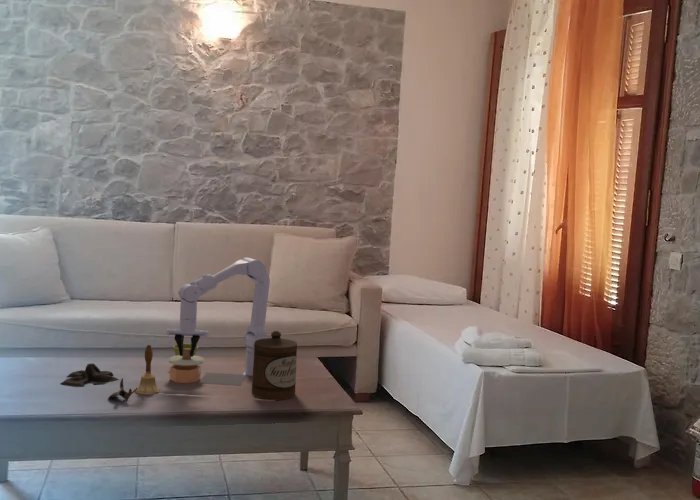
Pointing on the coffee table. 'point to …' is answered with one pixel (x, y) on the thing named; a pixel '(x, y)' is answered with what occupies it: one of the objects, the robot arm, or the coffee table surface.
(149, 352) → the hand bell
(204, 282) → the robot arm
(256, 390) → the wooden container
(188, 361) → the lid
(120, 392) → the eagle figurine
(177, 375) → the bowl
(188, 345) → the plant pot
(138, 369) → the coffee table surface
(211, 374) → the mat
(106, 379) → the cloth
